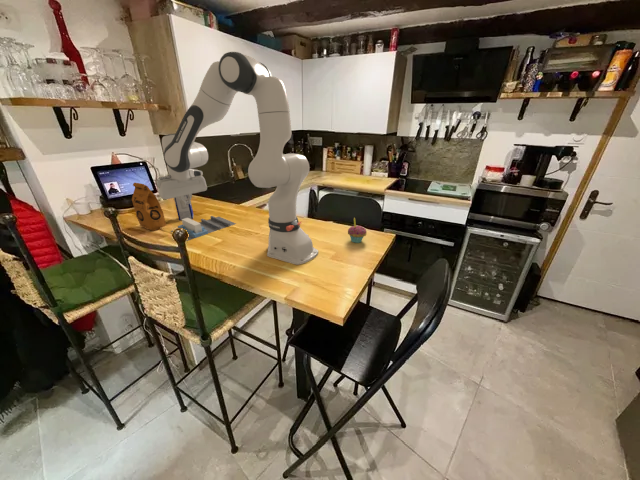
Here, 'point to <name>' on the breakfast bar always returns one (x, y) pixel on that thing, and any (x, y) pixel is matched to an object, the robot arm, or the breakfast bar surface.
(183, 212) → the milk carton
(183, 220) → the light grey block
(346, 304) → the breakfast bar surface
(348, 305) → the breakfast bar surface
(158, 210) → the coffee package
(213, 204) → the breakfast bar surface
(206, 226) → the duct board
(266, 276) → the breakfast bar surface
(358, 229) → the cupcake
